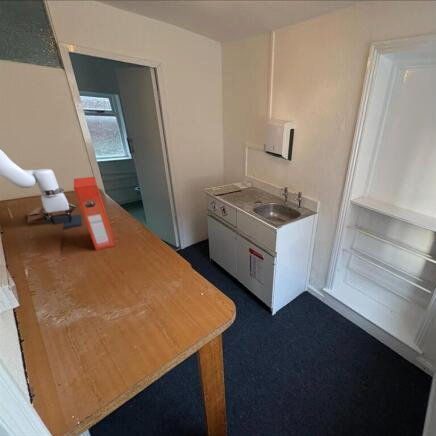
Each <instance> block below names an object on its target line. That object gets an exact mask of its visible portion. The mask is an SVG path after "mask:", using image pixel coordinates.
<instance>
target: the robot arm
mask: <svg viewBox="0 0 436 436" xmlns="http://www.w3.org/2000/svg"><path fill="white" fill-rule="evenodd" d="M0 176H1V177H2V178H4V179H6V180H7V181H8V182H10V183H11V184H13V185H15V186H16V187H18V188H22V189H30V188H32V187H34V186H35V185H36V184H37V186H38V188H39V191H40V193H41V194H40V200H41V205H42V206H41V210H40V211H39V213H40V214H43V215H45V216H46V217H48V219H50V220H51V222H53V223H52V224H54V225H55V223H54V221H53V216H54V215H53V213H57V212H65V214H66V213H67V216H68V219H69V221H71V219H72V217H71V216H72V213H73V212H74V211H75V209H76V205H74V204H72V203H69V201H68V199H67V197H66V195H65V193H64V191H65V190H64V188H61V187H60V185H59V184H58V180H57V177H56V175H55V173H54V171H53V170H52V169H50V168H39V169H23V168H21V167H20V166H18V165H17V164H16V163H15V162H14V161H13V160H11V158H9V156H7V154H6V153H5V152H4V151H3V150H2V149H1V148H0ZM44 210H45V212H43V211H44Z"/></svg>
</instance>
